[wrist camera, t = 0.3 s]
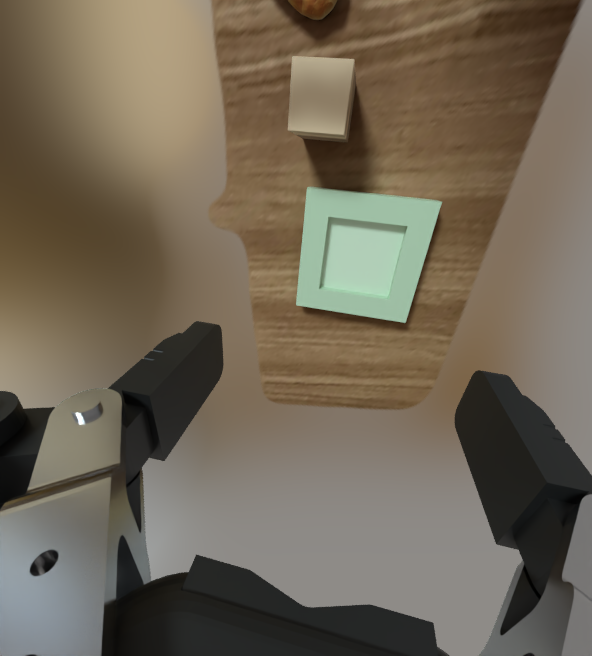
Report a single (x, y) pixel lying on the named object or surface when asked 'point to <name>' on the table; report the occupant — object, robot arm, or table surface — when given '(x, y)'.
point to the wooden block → (321, 98)
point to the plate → (363, 251)
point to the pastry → (313, 7)
